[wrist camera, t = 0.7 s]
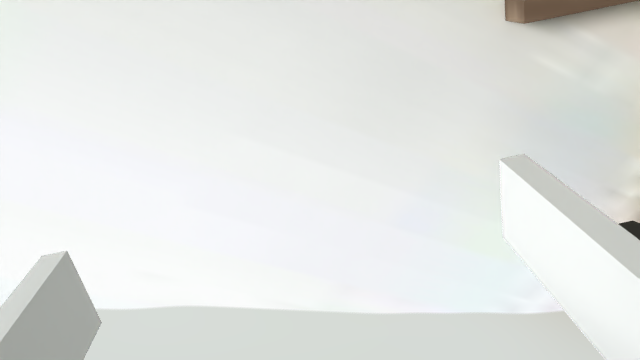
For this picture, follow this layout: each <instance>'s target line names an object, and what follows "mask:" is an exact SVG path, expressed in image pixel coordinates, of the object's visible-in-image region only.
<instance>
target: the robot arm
mask: <svg viewBox="0 0 640 360" xmlns="http://www.w3.org/2000/svg"><path fill="white" fill-rule="evenodd" d="M499 167H500V190H501V213H502V236H503V239H504V240H505V241H506V242H507V243H508V245H509V246H510V247H511V248H512V249H513V250H514V252H515V253H516V254H517V255H518V256H519V258H520V259H521V260H522V261H523V262H524V264H525V265H526V266H527V267H528V268H529V270H530V271H531V272H532V273H533V274H534V275H535V277H536V278H537V279H538V280H539V281H540V283H541V284H542V285H543V286H544V287H545V289H546V290H547V291H548V292H549V293H550V295H551V296H552V297H553V298H554V299H555V300H556V302H557V303H558V304H559V305H560V306H561V308H562V309H563V310H564V311H565V312H566V313H567V315H568V316H569V317H570V318H571V320H573V322H574V323H575V324H576V325H577V327H578V328H579V329H580V330H581V331H582V332H583V334H584V335H585V336H586V337H587V339H588V340H589V341H590V342H591V343H592V344H593V346H594V347H595V348H596V349H597V350H598V352H600V354H601V355H602V356H603V357H604V359H605V360H640V223H638V222H635V221H629V222H624V223H620V224H617V223H616V222H615V221H613V220H612V219H611V218H609V217H608V216H607V215H605V214H604V213H603V212H601V211H600V210H599V209H597V208H596V207H595V206H593V205H592V204H591V203H589V202H588V201H587V200H585V199H584V198H583V197H581V196H580V195H579V194H577V193H576V192H575V191H573V190H572V189H571V188H569V187H568V186H567V185H565V184H564V183H563V182H561V181H560V180H559V179H557V178H556V177H555V176H553V175H552V174H551V173H549V172H548V171H547V170H545V169H544V168H543V167H541V166H540V165H539V164H537V163H536V162H535V161H533V160H532V159H531V158H529V157H528V156H527V155H525V154H521V155H516V156H511V157H507V158H502V159H499ZM100 325H101V320H100V318H99V316H98V314H97V312H96V310H95V308H94V306H93V304H92V302H91V299H90V297H89V295H88V293H87V291H86V289H85V287H84V285H83V283H82V281H81V279H80V277H79V275H78V272H77V270H76V268H75V266H74V264H73V262H72V260H71V258H70V256H69V254H68V252H67V251H63V252H59V253H54V254H49V255H44V256H41V258H40V259H39V260H38V261H37V263H36V264H35V265H34V266H33V268H32V269H31V270H30V271H29V273H28V274H27V275H26V276H25V278H24V279H23V280H22V281H21V282H20V284H19V285H18V286H17V287H16V289H15V290H14V291H13V292H12V294H11V295H10V296H9V297H8V299H7V300H6V301H5V302H4V304H3V305H2V306H1V307H0V360H84V358H85V355H86V353H87V351H88V349H89V347H90V345H91V343H92V341H93V339H94V337H95V335H96V333H97V331H98V329H99V327H100Z"/></svg>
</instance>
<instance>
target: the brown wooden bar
mask: <svg viewBox="0 0 640 360" xmlns="http://www.w3.org/2000/svg"><path fill="white" fill-rule="evenodd" d="M633 1H638V0H505V17H506V21H512V22H518V23H524V24H525V23H530V22H535V21H540V20H545V19H550V18H555V17H560V16H564V15H569V14H574V13H579V12H584V11H589V10H594V9H599V8H604V7H609V6H614V5H619V4H623V3H628V2H633Z"/></svg>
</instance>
